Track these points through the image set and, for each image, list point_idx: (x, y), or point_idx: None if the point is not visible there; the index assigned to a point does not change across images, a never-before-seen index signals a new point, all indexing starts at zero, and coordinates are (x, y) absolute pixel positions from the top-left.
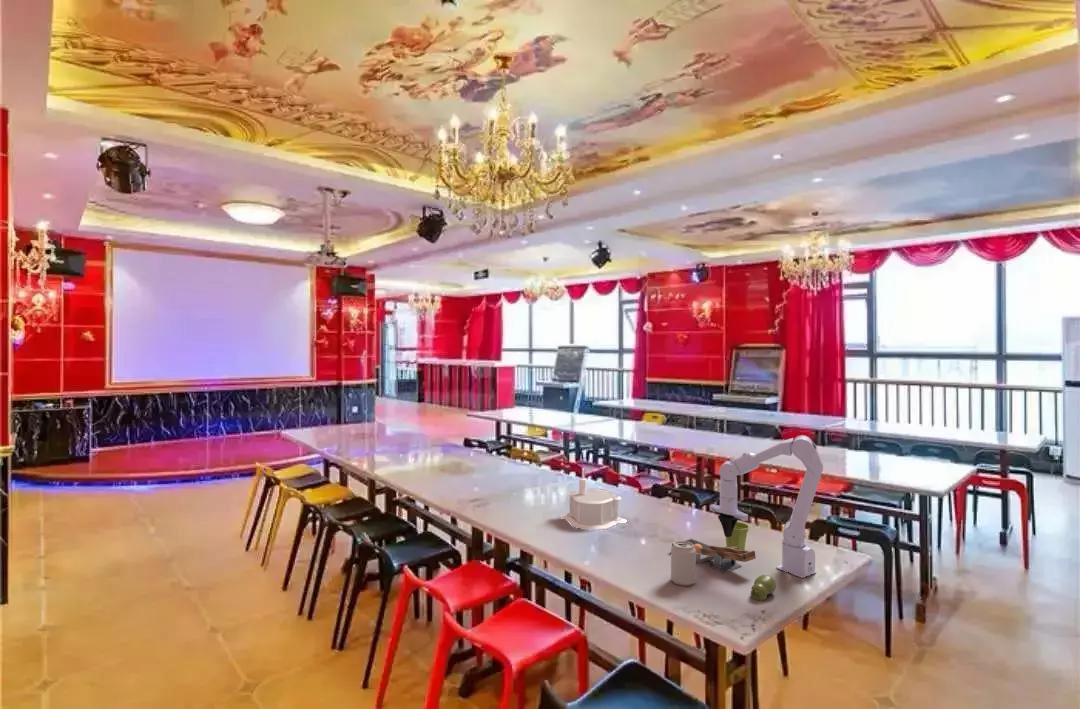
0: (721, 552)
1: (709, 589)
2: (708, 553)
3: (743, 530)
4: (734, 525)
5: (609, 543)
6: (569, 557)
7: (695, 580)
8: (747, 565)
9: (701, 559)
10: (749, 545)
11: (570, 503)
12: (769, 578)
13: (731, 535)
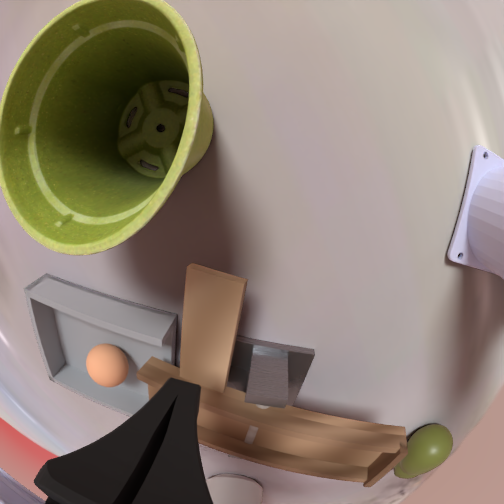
0: (254, 458)
1: (299, 481)
2: None
3: (180, 158)
4: (201, 464)
5: (3, 377)
6: (52, 449)
7: (259, 486)
8: (330, 315)
9: None
10: (196, 21)
11: None
12: (441, 463)
13: (200, 392)
